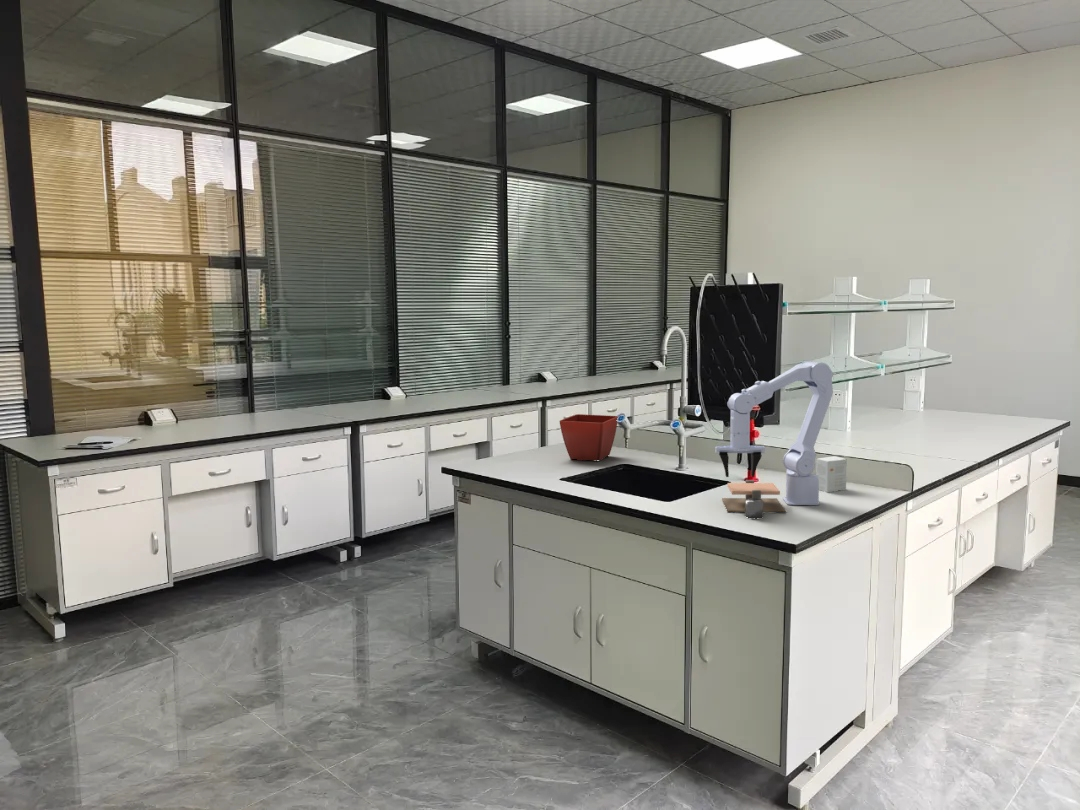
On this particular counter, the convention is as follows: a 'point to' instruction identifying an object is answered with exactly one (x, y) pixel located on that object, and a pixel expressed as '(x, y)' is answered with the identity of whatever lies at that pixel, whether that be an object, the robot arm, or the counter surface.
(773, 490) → the tipping door
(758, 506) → the block
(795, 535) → the counter surface
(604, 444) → the plant pot
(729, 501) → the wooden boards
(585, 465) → the counter surface
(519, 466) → the counter surface
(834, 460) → the small box
